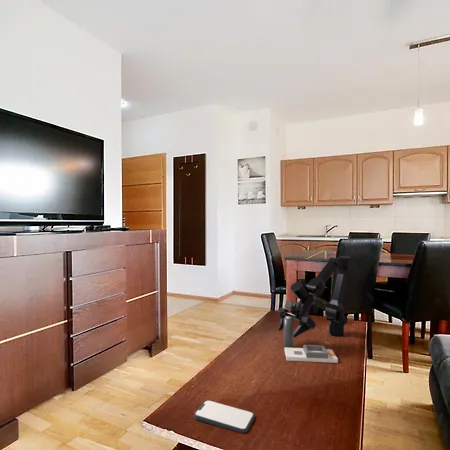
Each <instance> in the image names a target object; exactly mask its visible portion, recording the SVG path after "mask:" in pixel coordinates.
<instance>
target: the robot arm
mask: <svg viewBox="0 0 450 450" xmlns="http://www.w3.org/2000/svg"><path fill="white" fill-rule="evenodd" d="M355 264H356V261H355V259H354V258H353V257H351V256H344V255H340V256H339V257H330V258H329V259H328V261H327V263H326V264H325V265H324V267H322V269H321V270H320V272H319V273H318V275H316V277H314V278H311V279H310V280H309V281H308V282H307V283H305V282H304V281H303V280H301V279H298V281H295V282H294V283H292V285H291V286H290V290H291V292H292V293H293V295H294V296H296V298H297V299H299V301H297V302H292V301H290V300H286V302H285V305H284V307H279V308H278V310H277V313H278V315H279V316H280V320H279V326H278V328H277V330H278V331H279V332H281V331H282V330H284V318H285V317H287V316H289V317H291V318H293V320H295V321H298V326H297V327H296V329H295V331H293V338H296V337H297V336H299V335H302V334H303V333H305V332H308V331H311V330H314V329H315V327H316V322H315V321H314V319H312V317H311V316H308V315H307V314H310V313H311V311H310V309H311V307H312V306H313V304H316V305H317V304H318V299H317V297H320V296H322V295H323V293H324V292H325V290H326V284H327V282H328V281H329V280H330V278H331V277H332V276H333V274H334V272H335V271H336V270H337V275H336V280H335V285H334V289H333V293H332V298H331V300H330V302H326V305H325V308H324V315H325V318H326V321H329V323H328V328H327V330H328V331H327V332H328V334H329V335H330V336H331V337H345V336H346V335H345V334H344V333H345V330H344V329H345V325H346V324H347V323H348V320H349V319H348V318H347V316H346V315H345V314H344V313H345V308H344V305H343V300H344V295H345V292H346V287H347V283H348V278H349V275H350V274H351V273H352V272H353V270H354V267H355ZM314 296H317V297H314ZM288 309H289V310H288Z"/></svg>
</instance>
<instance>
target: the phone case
mask: <svg viewBox="0 0 450 450" xmlns="http://www.w3.org/2000/svg"><path fill="white" fill-rule="evenodd" d="M255 417H256V416H255V413H254V412H252V411H249V410H245V409H241V408H237V407H235V406H232V405H231V406H230V405H226V404H223V403H220V402H217V401H214V400H209V399H208V400H204V401H203V402H202V404H200V406H199V407H198V408H197V409H196V410H195V411H194V413H193V418H194V420H195V421H199V422H202V423H206V424H207V425H209V424H210V425H213V426H216V427H220V428H222V429H226V430H230V431H234V432H235V433H240V432H241V433H240V434H246V433H247V432H248V431H249V429H250V428H251V425H252V424H253V421H254V420H255ZM245 432H246V433H245Z"/></svg>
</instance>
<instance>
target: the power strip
mask: <svg viewBox="0 0 450 450" xmlns="http://www.w3.org/2000/svg"><path fill="white" fill-rule="evenodd" d="M284 354H285V359H286V361H287V362H288V361H289V362H290V361H291V362H309V363H312V362H314V363H328V364H329V363H331V364H332V363H334V364H338V362H339V358H338V357H337V356H336V354H335V353H334V350H333V349H329V348H327V349H326V348H325V346H324V345H320V344H303V345H302V347H293V348H287V347H285V349H284Z"/></svg>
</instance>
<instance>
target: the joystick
mask: <svg viewBox="0 0 450 450" xmlns="http://www.w3.org/2000/svg"><path fill="white" fill-rule="evenodd" d="M293 334H294V319H293V318H291V317H289V316H287V317H285V318H284V328H283V349H284V350H285V347H287V348H294V337H293Z"/></svg>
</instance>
